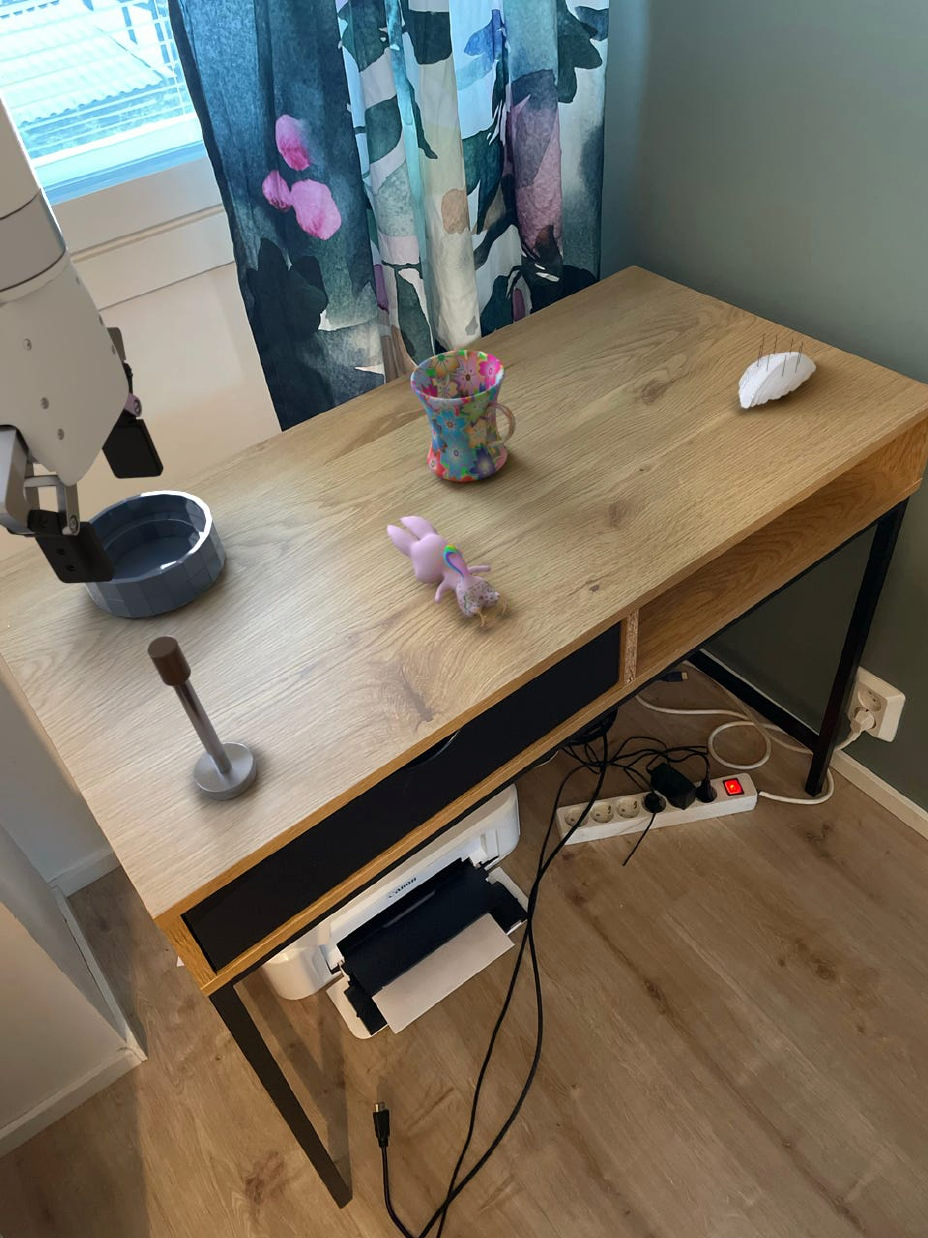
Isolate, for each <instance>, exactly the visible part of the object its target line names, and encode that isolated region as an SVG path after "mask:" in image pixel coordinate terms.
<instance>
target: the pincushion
mask: <svg viewBox="0 0 928 1238" xmlns="http://www.w3.org/2000/svg"><path fill="white" fill-rule="evenodd" d="M765 335H766V334H765V333H764V334H763V336H765ZM777 339H778V336H776V338H775V344H774V345H775V346H774V350H773V353H768V354H767V355H764V356H763V351H761V350H763V348H764V344H761V345H759V352H758V356H760V357H758V358H757V360H755V362H753V363H752V364H751V365H749V366H748V367H747V368H746V370H745V371H744V373H743V375H742V376H741V378H740V380H739V381H738V384H737V385H738V386H739V390H738V395H739V402H740V407H741V408H743V409H748V408H749V407H751V408H753V407H755V406H756V405H758V406H759V405H764V404H766V403H767V402H768V400H772V401H774V400H779V399H780V398H781V397H782V396H785V395H787V394H788V393H789V392H794V391H795V390H796V389H797V388H798V387H800V386H801V385H802V383H804V382H805V381H807V380H809V379H810V377H811V375H812V374H813V373H814V372H815V371H816V368H817V366H816V364H815V363H814V361H813V360H812V359H811V358H810V357H809V356H807V355H806V354H804V353H802V352H801V351H802V350H803V345H804V341H802V342H801V345H800V346H799V348H800V349H799V350H798V352H797V351H792V349H789V352H776V348H777V347H776V346H777ZM764 341H765V337H763V339H762V343H765V342H764ZM793 341H794V338H792V339H791V344H790V348H792V346H793ZM775 352H776V353H775Z"/></svg>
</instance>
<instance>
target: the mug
mask: <svg viewBox="0 0 928 1238" xmlns="http://www.w3.org/2000/svg"><path fill="white" fill-rule="evenodd" d="M505 376H506V368H505V366H504V364H503V362H502V361H501V360H500V359H499V358H498V357H496V356H494V355H492V354H490V353H487V352H485V351H480V350H471V349H459V350H458V349H457V350H452V351H446V352H443V353H439V354H436V355H434V356H431V357H429V358H427V359H426V360H424V361H423V362H421V363H420V364H419V365H417V366H416V368H415V369H414V370H413V372H412V374H411V376H410V386H411V389H412V390H413V392H414V393H415V394H416V396H417V397H418V399H419V400H420V402H421V404H422V406H423V407H424V410H425V412H426V415H427V417H428V421H429V424H430V430H431V445H430V447H429V451H428V453H427V465H428V467H429V469H430V470H431V471H432V473H434V474H435V475H436V476H438V477H439V478H441V479H444V480H447V481H452V482H461V483H465V482H466V483H467V482H474V481H478V480H482V479H485V478H487V477H490V476H492V475H494V474H495V473H496V472H498V471H499V470H500V469H501V468H502V467H503V466H504V465H505V463H506V461H507V458H508V454H509V453H508V447H507V444H506V443H507V442H508V441H509V440H510V439H511V438H512V436H513V435H514V432H515V431H516V426H517V425H516V417H515V415H514V413H513V411H511V409H510V408H509V407H508V406H507V405H505V404H504V403H500V402H498V398H499V394H500V390H501V388H502V385H503V382H504V380H505ZM497 410H499V411H500V412H501V413H502V414H504V415H505V417H506V419H507V422H508V431H507V433H506V435H505V436H504V437H503V438H502V437H501V434H500V432H499V429H498V424H497Z"/></svg>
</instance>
